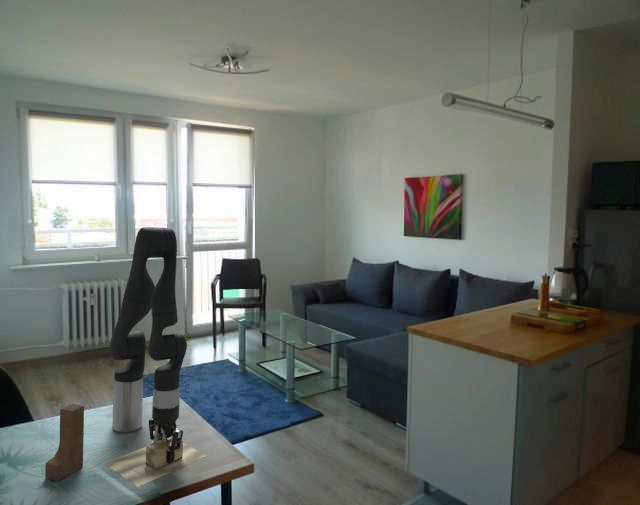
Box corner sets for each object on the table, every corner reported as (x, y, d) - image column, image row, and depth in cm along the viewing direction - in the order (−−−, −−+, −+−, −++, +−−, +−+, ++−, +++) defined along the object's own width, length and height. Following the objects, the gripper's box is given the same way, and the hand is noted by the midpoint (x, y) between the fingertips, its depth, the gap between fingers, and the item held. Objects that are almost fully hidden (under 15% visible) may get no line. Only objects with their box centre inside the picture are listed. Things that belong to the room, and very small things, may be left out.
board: (103, 467, 136) (103, 463, 136) (171, 440, 154) (171, 436, 154) (137, 491, 125) (137, 486, 125) (206, 459, 143) (207, 455, 143)
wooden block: (57, 482, 127) (58, 417, 126) (44, 478, 128) (45, 414, 127) (83, 466, 136) (84, 405, 134) (71, 463, 137) (72, 403, 136)
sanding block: (145, 464, 136) (146, 445, 135) (172, 452, 143) (172, 435, 143) (155, 470, 133) (156, 451, 132) (182, 458, 140) (183, 440, 140)
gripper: (140, 399, 138) (139, 455, 139) (169, 413, 129) (168, 472, 130) (162, 392, 144) (161, 446, 145) (192, 405, 135) (190, 462, 136)
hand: (164, 458), depth 138 cm, fingers closed on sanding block, 5 cm apart
